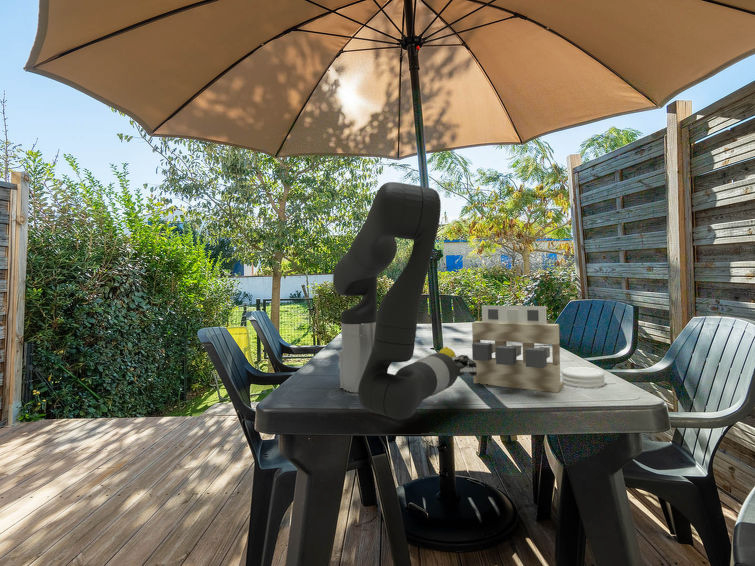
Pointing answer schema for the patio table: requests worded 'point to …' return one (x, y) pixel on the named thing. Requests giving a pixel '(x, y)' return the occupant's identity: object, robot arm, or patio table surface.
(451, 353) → the lemon
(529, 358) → the button right
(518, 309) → the card
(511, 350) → the button mid
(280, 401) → the patio table surface
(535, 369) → the board
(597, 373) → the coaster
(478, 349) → the button left
